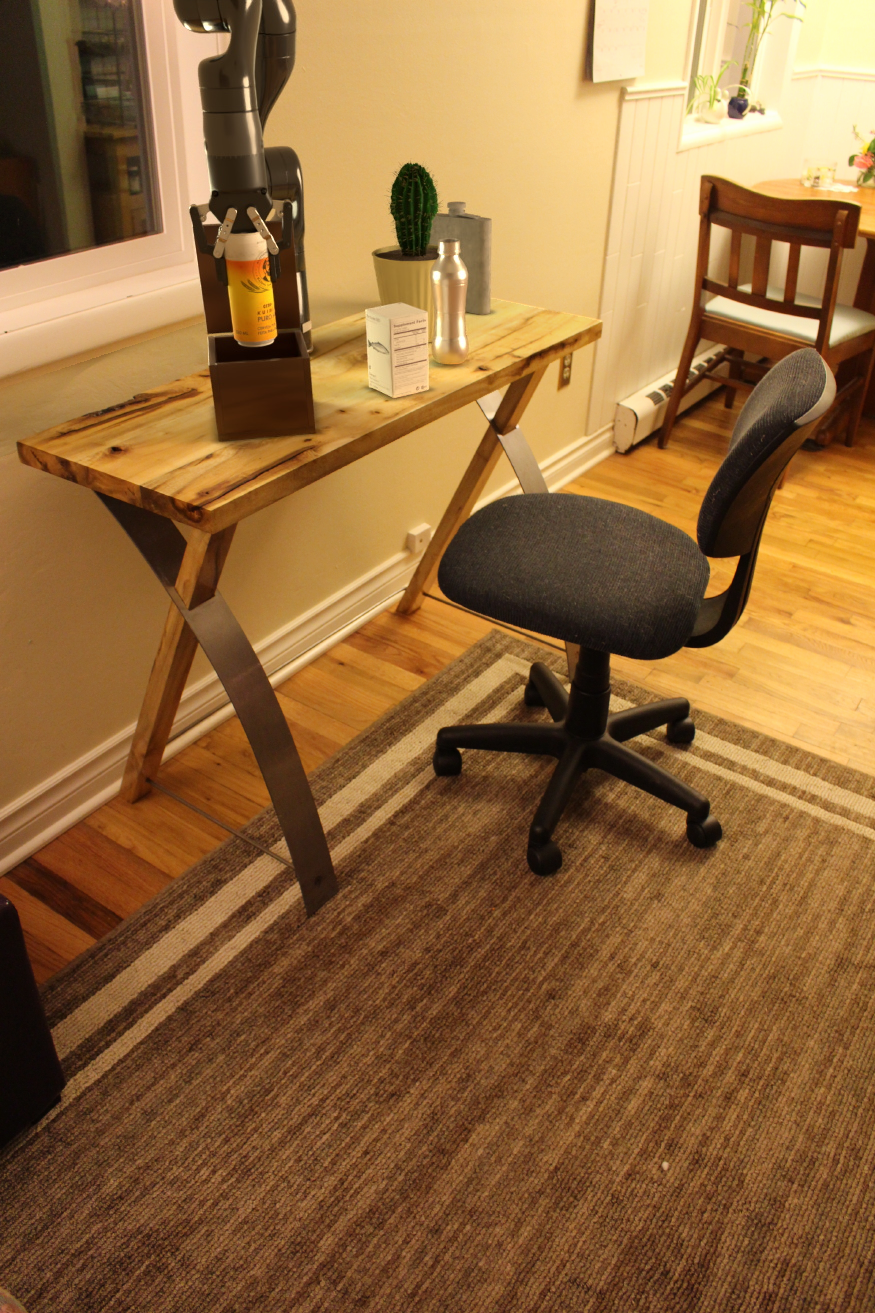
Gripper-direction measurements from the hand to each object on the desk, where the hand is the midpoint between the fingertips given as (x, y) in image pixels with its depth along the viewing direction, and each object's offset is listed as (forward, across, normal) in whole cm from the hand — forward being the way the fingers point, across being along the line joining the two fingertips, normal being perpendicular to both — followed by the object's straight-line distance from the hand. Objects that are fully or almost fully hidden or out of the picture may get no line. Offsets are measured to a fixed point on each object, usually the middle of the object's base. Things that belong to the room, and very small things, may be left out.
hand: (249, 282), depth 142 cm
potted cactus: (+21, -30, -42) cm, 56 cm away
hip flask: (+21, -42, -59) cm, 75 cm away
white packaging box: (+21, -22, -11) cm, 32 cm away
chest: (+20, 0, -2) cm, 20 cm away
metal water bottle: (+21, -33, -23) cm, 45 cm away
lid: (+1, 0, -8) cm, 8 cm away
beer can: (+8, 0, 0) cm, 8 cm away
